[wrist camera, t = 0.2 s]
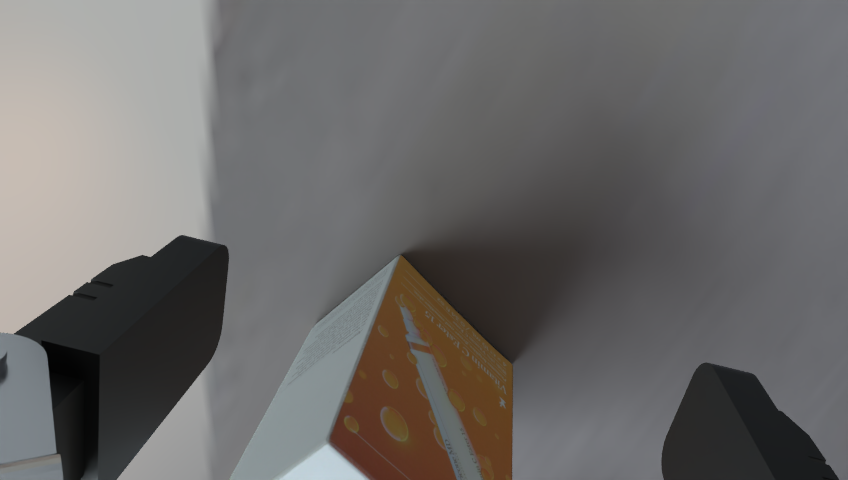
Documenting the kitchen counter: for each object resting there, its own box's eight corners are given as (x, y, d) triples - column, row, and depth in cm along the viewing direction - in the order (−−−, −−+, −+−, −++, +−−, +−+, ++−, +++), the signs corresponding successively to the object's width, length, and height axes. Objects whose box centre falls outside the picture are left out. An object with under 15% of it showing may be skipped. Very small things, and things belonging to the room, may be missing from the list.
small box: (516, 363, 31) (518, 610, 19) (422, 427, 34) (373, 683, 22) (400, 247, 30) (325, 441, 18) (309, 323, 32) (190, 540, 20)
